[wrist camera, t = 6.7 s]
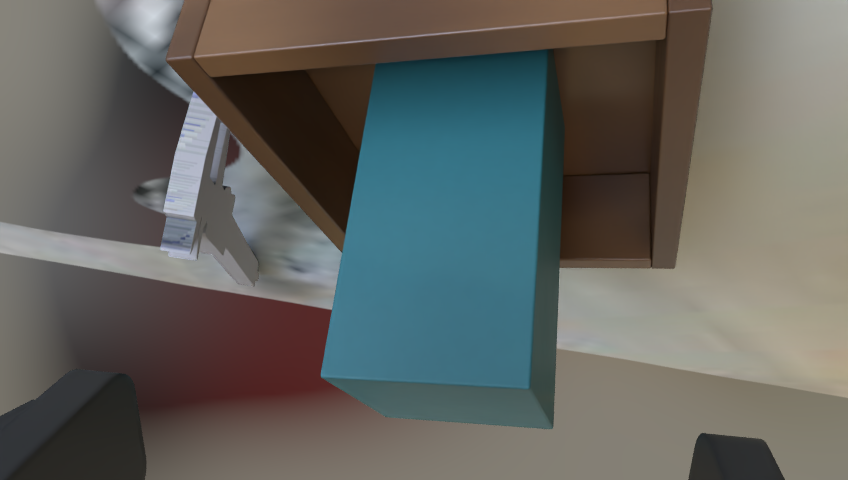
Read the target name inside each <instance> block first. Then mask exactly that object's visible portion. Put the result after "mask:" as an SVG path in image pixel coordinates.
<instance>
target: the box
mask: <svg viewBox="0 0 848 480" xmlns="http://www.w3.org/2000/svg"><path fill="white" fill-rule="evenodd" d="M711 15H712V0H184V3H183V7H182V10H181V13H180V16H179V19H178V22H177V25H176V28H175V31H174V34H173V37H172V40H171V43H170V46H169V49H168V52H167V55H166V62H167V63H168V64H169V65H170V66H171V67H172V68H173V69H174V70H175V72H176V73H177V74H178V75H179V76H180V77H181V78H182V79H183V80H184V81H185V82H186V84H187V85H188V86H189V87H190V88H191V89H192V90H193V91H194V92H195V93H196V94H197V95H198V97H199V98H200V99H201V100H202V101H203V102H204V103H205V104H206V105H207V106H208V107H209V109H210V110H211V111H212V112H213V113H214V114H215V115H216V116H217V117H218V118H219V119H220V121H221V122H222V123H223V124H224V125H225V126H226V127H227V128H228V129H229V130H230V131H231V132H232V134H233V135H234V136H235V137H236V138H237V139H238V140H239V141H240V142H241V143H242V144H243V146H244V147H245V148H246V149H247V150H248V151H249V152H250V153H251V154H252V155H253V156H254V157H255V159H256V160H257V161H258V162H259V163H260V164H261V165H262V166H263V167H264V168H265V169H266V171H267V172H268V173H269V174H270V175H271V176H272V177H273V178H274V179H275V180H276V181H277V182H278V184H279V185H280V186H281V187H282V188H283V189H284V190H285V191H286V192H287V193H288V194H289V196H290V197H291V198H292V199H293V200H294V201H295V202H296V203H297V204H298V205H299V206H300V208H301V209H302V210H303V211H304V212H305V213H306V214H307V215H308V216H309V217H310V218H311V219H312V221H313V222H314V223H315V224H316V225H317V226H318V227H319V228H320V229H321V230H322V231H323V233H324V234H325V235H326V236H327V237H328V238H329V239H330V240H331V241H332V242H333V243H334V244H335V246H336V247H337V248H338V249H339V250H340V251H341V252H343V246H344V240H345V235H346V229H347V223H348V217H349V212H350V206H351V200H352V195H353V189H354V183H355V178H356V172H357V166H358V161H359V155H360V149H361V144H362V138H363V132H364V127H365V121H366V115H367V110H368V104H369V98H370V93H371V87H372V81H373V76H374V70H375V64H377V63H389V62H401V61H413V60H425V59H437V58H449V57H461V56H473V55H485V54H497V53H509V52H521V51H533V50H545V49H553V53H554V60H555V66H556V73H557V79H558V86H559V92H560V99H561V106H562V112H563V119H564V125H565V140H564V165H563V191H562V216H561V242H560V267H559V268H651V267H652V268H665V269H674V268H675V265H676V258H677V251H678V245H679V238H680V231H681V224H682V217H683V210H684V203H685V196H686V189H687V182H688V175H689V168H690V161H691V154H692V147H693V140H694V133H695V127H696V120H697V113H698V106H699V99H700V92H701V85H702V78H703V71H704V64H705V57H706V50H707V43H708V36H709V29H710V22H711Z"/></svg>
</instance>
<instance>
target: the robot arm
mask: <svg viewBox="0 0 848 480" xmlns="http://www.w3.org/2000/svg"><path fill="white" fill-rule="evenodd" d="M145 475H146V455H145V448H144V442H143V436H142V430H141V423H140V417H139V410H138V404H137V397H136V391H135V387H134V383H133V381H132V379H131V378H130V377H129V376H128V375H126V374H121V373H111V372H101V371H91V370H81V369H75V370H72V371H69V372H68V373H67V374H65V375H64V376H63V377H62V378H60V379H59V380H58V381H57V382H56V383H55V384H54V385H52V386H51V387H50V388H49V389H48V390H46V391H45V392H44V393H43V394H42V395H41V396H39V397H38V398H37V399H36V400H31V401H29V402H27V403H25V404H23V405H21V406H19V407H17V408H15V409H13V410H12V411H10V412H7V413H5V414H4V415H2V416H0V480H145ZM688 480H785V479H784V477H783V475H782V473H781V471H780V469H779V467H778V465H777V463H776V461H775V459H774V457H773V455H772V453H771V451H770V449H769V447H768V445H767V444H766V442H764V440H762V439H756V438H746V437H735V436H725V435H716V434H706V433H702V434H700V435H699V437H698V438H697V441H696V444H695V448H694V453H693V459H692V464H691V469H690V474H689V479H688Z"/></svg>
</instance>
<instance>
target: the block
mask: <svg viewBox="0 0 848 480" xmlns="http://www.w3.org/2000/svg"><path fill="white" fill-rule="evenodd" d="M564 140H565V125H564V119H563V112H562V106H561V99H560V92H559V86H558V79H557V73H556V66H555V60H554V53H553V49H545V50H533V51H521V52H509V53H497V54H485V55H473V56H461V57H449V58H437V59H425V60H413V61H401V62H389V63H377V64H375V70H374V76H373V81H372V87H371V93H370V98H369V104H368V110H367V115H366V121H365V127H364V132H363V138H362V144H361V149H360V155H359V161H358V166H357V172H356V178H355V183H354V189H353V195H352V200H351V206H350V212H349V217H348V223H347V229H346V235H345V240H344V246H343V252H342V257H341V263H340V269H339V274H338V280H337V286H336V291H335V297H334V303H333V308H332V314H331V320H330V326H329V331H328V337H327V343H326V348H325V354H324V359H323V365H322V371H321V377H322V378H323V379H325V380H326V381H328V382H330V383H331V384H333V385H335V386H336V387H338V388H340V389H341V390H343V391H344V392H346V393H348V394H350V395H351V396H353V397H354V398H356V399H357V400H359V401H361V402H362V403H364V404H366V405H367V406H369V407H371V408H372V409H374V410H375V411H377V412H379V413H380V414H382V415H383V416H385V417H391V418H405V419H419V420H432V421H445V422H460V423H473V424H486V425H501V426H514V427H527V428H542V429H552V428H553V420H554V393H555V369H556V344H557V318H558V293H559V267H560V242H561V216H562V191H563V165H564Z"/></svg>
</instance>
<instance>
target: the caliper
mask: <svg viewBox="0 0 848 480" xmlns="http://www.w3.org/2000/svg"><path fill="white" fill-rule="evenodd" d="M229 136H230V130H229V129H228V128H227V127H226V126H225V125H224V124H223V123H222V122H221V121H220V119H219V118H218V117H217V116H216V115H215V114H214V113H213V112H212V111H211V110H210V109H209V107H208V106H207V105H206V104H205V103H204V102H203V101H202V100H201V99H200V98H199V97H198V95H197V94H196V93H195V92H193V95H192V98H191V101H190V105H189V108H188V112H187V115H186V119H185V122H184V126H183V129H182V132H181V136H180V139H179V142H178V146H177V149H176V153H175V157H174V162H173V167H172V172H171V177H170V181H169V186H168V191H167V196H166V201H165V206H164V211H163V212H164V213H165V215H166V216H167V219H166V224H165V228H164V233H163V238H162V243H161V247H160V250H164V251H168V256H170V257H176V258H183V259H189V260H195V261H197V259H198V254H199V252H201V253H207V254H212V255H213V256H214V257H215V259H216V260H217V261H218V262H219V263H220V264H221V266H222V267H223V268H224V269H225V270H226V271H227V272H228V274H229V275H230V276H231V277H232V278H233V279H234V280H235V281H236V283H237V284H241V285H247V286H253V287H254V286H255V281H258V279H259V273H258V272H257V271H258V266H259V263H258V261H257V259H256V257H255V256H254V254H253V252H252V250H251V249H250V247H249V245H248V244H247V242H246V240H245V238H244V236H243V234H242V233H241V231H240V229H239V227H238V225H237V223H236V222H235V220H234V218H233V216H232V212H233V207H234V202H235V195H232V194H231V187H227V186H222V184H223V177H224V170H225V163H226V156H227V150H228V143H229Z"/></svg>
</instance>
